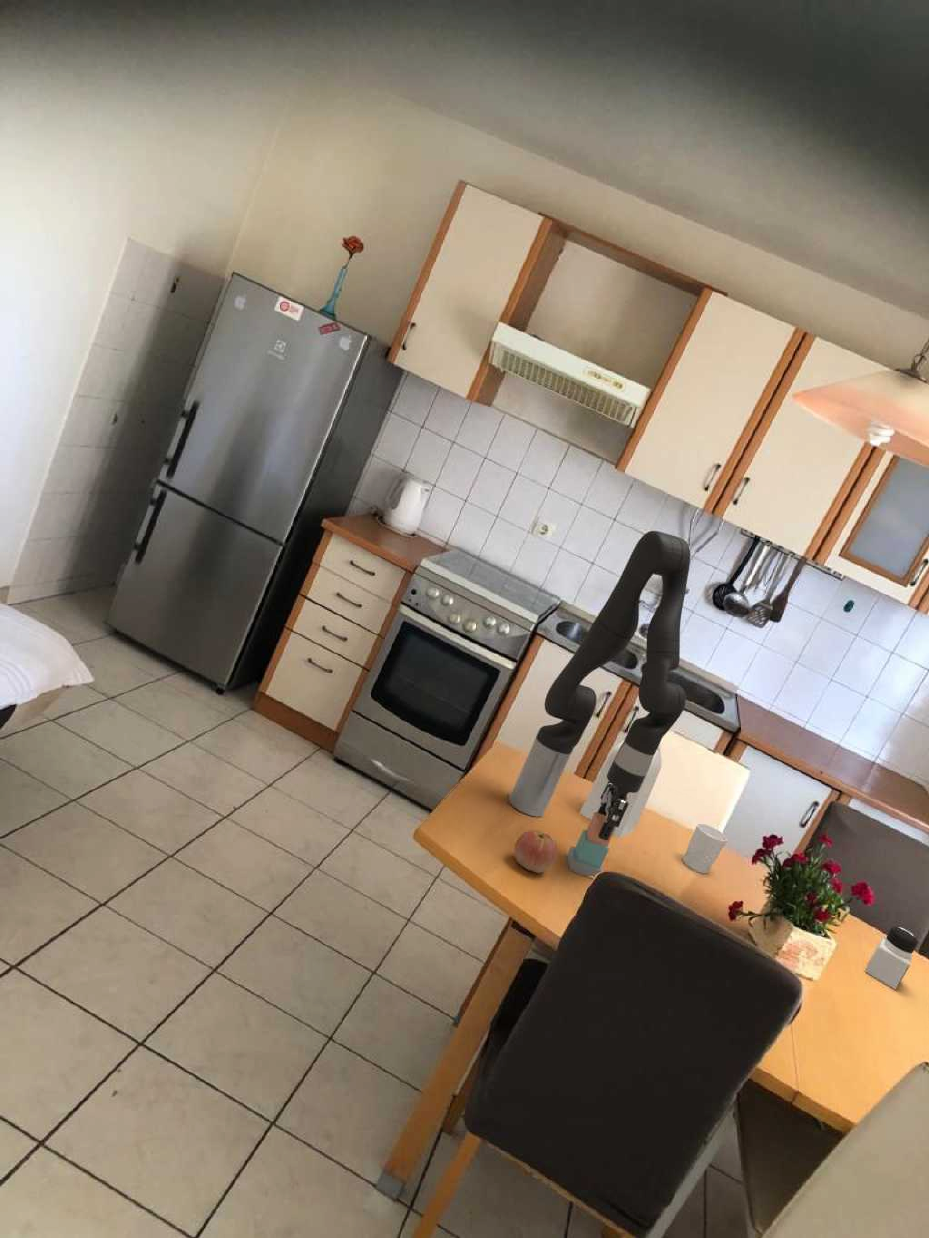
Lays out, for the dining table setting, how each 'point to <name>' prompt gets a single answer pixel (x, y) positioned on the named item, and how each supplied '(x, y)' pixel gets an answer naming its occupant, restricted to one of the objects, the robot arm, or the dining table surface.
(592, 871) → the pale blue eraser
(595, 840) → the brick terracotta
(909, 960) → the medicine bottle
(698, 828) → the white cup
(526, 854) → the apple
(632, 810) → the milk
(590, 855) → the brick teal
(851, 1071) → the dining table surface
